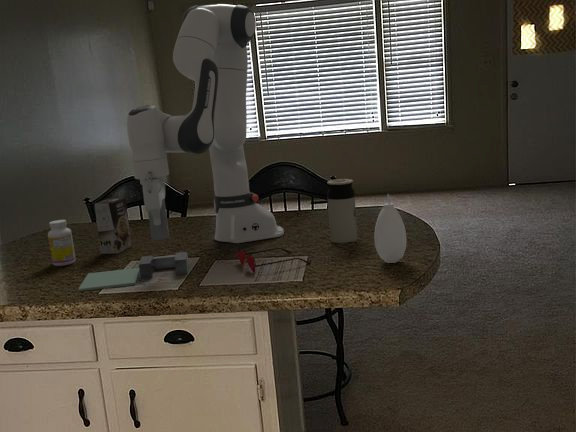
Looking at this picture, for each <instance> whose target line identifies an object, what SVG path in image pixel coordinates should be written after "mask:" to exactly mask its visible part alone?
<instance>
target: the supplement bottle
mask: <svg viewBox="0 0 576 432" xmlns="http://www.w3.org/2000/svg"><path fill="white" fill-rule="evenodd" d="M48 224H49V228H50V231H48V233H47V238H48V246H49V250H50V252H49V253H50V259H51V262H52V265H53V266H55V267H63V266H68V265H72V264H74V263H75V262H76V260H77V259H76V252H75V247H74V240H73V234H72V230H71V228H69V227H67V220H66V219H58V220H53V221H50V222H49V223H48Z"/></svg>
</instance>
